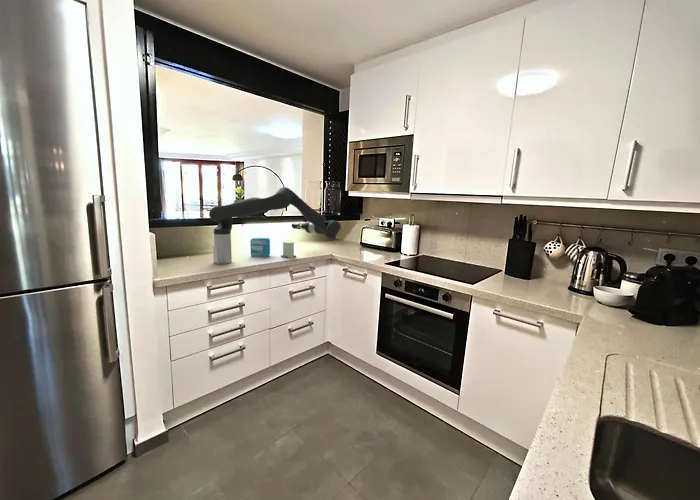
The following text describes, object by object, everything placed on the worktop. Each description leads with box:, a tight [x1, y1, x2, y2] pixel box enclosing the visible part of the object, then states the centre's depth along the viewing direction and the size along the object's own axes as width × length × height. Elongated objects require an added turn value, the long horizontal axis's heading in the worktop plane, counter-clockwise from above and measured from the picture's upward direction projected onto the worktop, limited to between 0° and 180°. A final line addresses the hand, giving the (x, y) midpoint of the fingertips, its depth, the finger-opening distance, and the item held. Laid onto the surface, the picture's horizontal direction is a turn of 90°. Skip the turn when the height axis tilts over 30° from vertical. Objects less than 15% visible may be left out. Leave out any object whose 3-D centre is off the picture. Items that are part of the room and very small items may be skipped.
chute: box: [280, 254, 297, 259], centre depth 207 cm, size 7×7×1 cm
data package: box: [249, 237, 271, 258], centre depth 206 cm, size 12×4×12 cm, turn 98°
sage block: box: [282, 241, 295, 259], centre depth 206 cm, size 4×6×10 cm
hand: (297, 225), depth 196 cm, fingers open, 8 cm apart
